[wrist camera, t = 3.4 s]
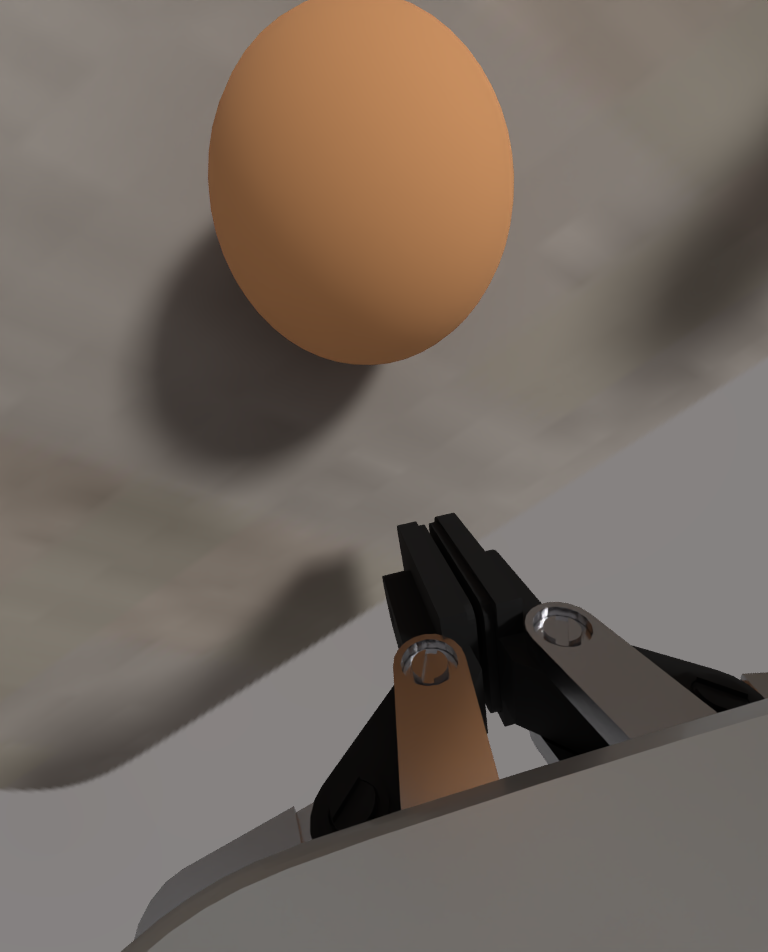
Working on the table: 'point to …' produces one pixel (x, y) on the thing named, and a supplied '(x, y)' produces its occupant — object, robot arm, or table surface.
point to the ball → (361, 179)
